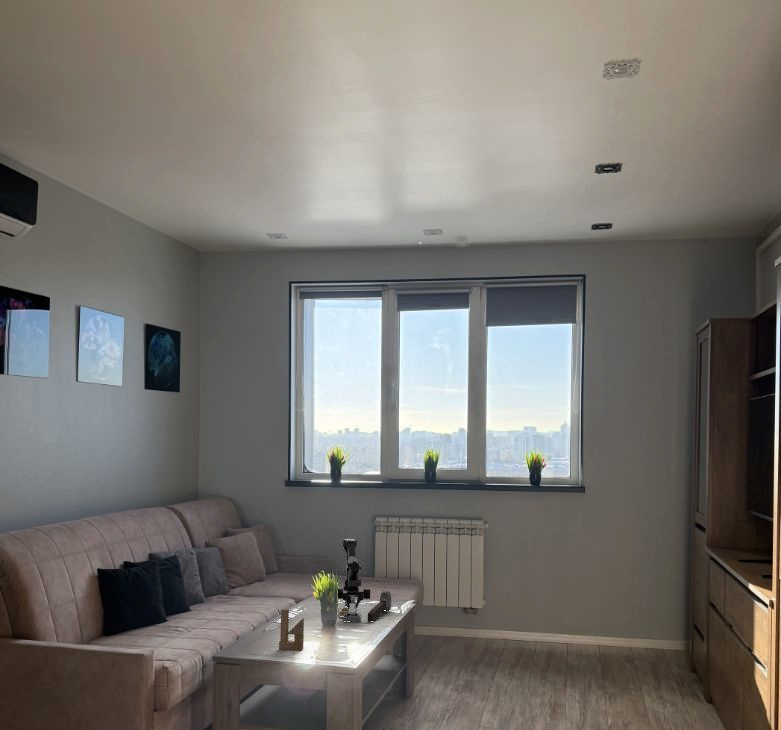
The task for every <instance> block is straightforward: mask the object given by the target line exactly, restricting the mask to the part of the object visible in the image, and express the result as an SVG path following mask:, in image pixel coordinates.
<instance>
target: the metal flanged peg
mask: <svg viewBox="0 0 781 730" xmlns="http://www.w3.org/2000/svg"><path fill="white" fill-rule="evenodd" d="M356 604H357V602H356V597H355V595H351V602H350V603H349V616H356V613H357V608H356Z"/></svg>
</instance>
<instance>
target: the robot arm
mask: <svg viewBox="0 0 781 730" xmlns="http://www.w3.org/2000/svg"><path fill="white" fill-rule="evenodd" d="M341 544H342V545H341V547H342V548H343V552H344V554H345V559H346V560H345V561H346V562H345V571H346V580H345V581H344V584H343V586H342V588H337V589H338V599H340V600H342V601H344V605H345V606H347V607H348V608H349V603H350V602H351V595H355V598H356V609H357V608H358V607H359V605H360V603H361V601H364V600H370V599H371V589H370V588H363V589H362V591H360V588H359V587H361V586H362V578H361V579H359V576H360V571H361V570H362V565H361V564H360V563H359V559H357V556H356V550H357V548H358V540H356V539H355V538H344V540H342V541H341ZM338 599H337V600H338Z"/></svg>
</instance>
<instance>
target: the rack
mask: <svg viewBox="0 0 781 730" xmlns="http://www.w3.org/2000/svg"><path fill="white" fill-rule="evenodd" d="M344 613H349V609H347V608H340V609H339V617H340V616H344Z"/></svg>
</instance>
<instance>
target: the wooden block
mask: <svg viewBox="0 0 781 730" xmlns="http://www.w3.org/2000/svg"><path fill="white" fill-rule="evenodd" d="M289 621H290V610H289V608H285V607H284V608H281V609H280V638H279V641H278V650H284V651H294V652H298V651H299V652H301V651H303V650H304V641H305V639H304V636H305V618H304V617H303V618H302V619H300V620H299V621H298V622H297V624H295V625H294V627H292V628H291V629H290V630H289V623H290V622H289ZM289 635H294V638H293V640H290V639H289Z"/></svg>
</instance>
